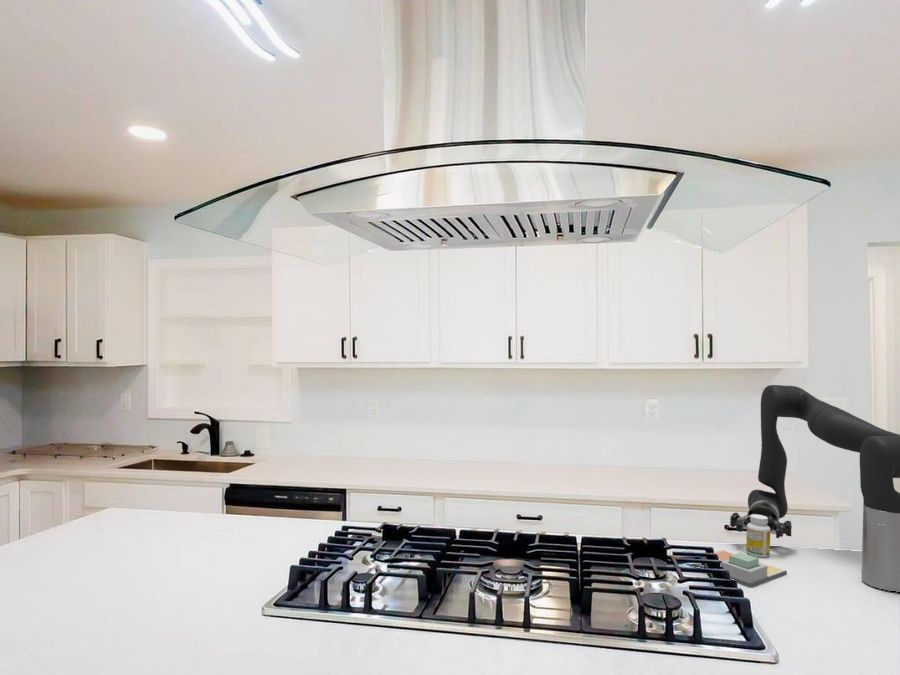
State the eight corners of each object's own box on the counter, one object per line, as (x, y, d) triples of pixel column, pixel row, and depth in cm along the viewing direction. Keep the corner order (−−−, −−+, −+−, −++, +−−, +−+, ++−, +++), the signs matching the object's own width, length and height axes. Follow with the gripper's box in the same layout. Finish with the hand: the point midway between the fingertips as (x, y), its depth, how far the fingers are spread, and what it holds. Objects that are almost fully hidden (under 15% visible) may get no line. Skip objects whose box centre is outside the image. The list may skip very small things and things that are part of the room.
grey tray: (786, 574, 142) (787, 560, 142) (751, 587, 134) (751, 572, 134) (722, 553, 155) (722, 540, 155) (686, 564, 147) (686, 550, 147)
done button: (758, 569, 138) (758, 558, 138) (747, 572, 136) (748, 561, 136) (739, 563, 142) (740, 552, 142) (729, 566, 139) (729, 555, 139)
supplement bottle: (754, 558, 152) (755, 519, 152) (741, 550, 158) (742, 513, 158) (774, 558, 153) (775, 519, 153) (761, 550, 158) (762, 513, 158)
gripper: (735, 498, 173) (728, 511, 159) (793, 506, 165) (791, 521, 151) (734, 525, 173) (727, 540, 159) (792, 534, 165) (790, 551, 151)
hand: (758, 530), depth 155 cm, fingers open, 8 cm apart
